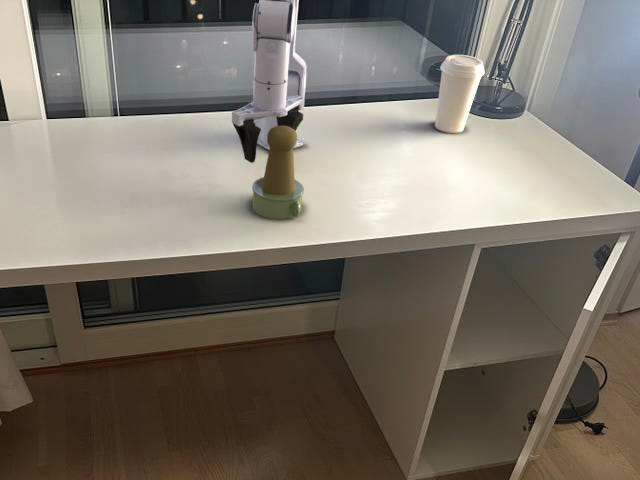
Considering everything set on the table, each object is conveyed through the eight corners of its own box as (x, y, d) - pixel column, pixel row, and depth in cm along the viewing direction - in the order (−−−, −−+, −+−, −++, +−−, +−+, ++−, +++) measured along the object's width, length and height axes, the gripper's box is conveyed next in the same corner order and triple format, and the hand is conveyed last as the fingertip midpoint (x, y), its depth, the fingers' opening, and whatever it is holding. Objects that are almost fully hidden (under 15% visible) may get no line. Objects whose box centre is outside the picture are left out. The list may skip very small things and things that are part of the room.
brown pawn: (292, 197, 125) (297, 137, 118) (259, 192, 126) (262, 133, 119) (297, 182, 130) (302, 123, 122) (265, 178, 130) (268, 119, 123)
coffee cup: (423, 119, 166) (436, 53, 157) (462, 119, 167) (477, 53, 158) (435, 135, 159) (450, 67, 149) (475, 135, 160) (493, 67, 150)
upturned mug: (241, 203, 131) (241, 183, 128) (280, 190, 135) (281, 171, 133) (276, 227, 125) (278, 207, 122) (316, 213, 129) (318, 193, 127)
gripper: (250, 94, 112) (247, 173, 121) (318, 78, 119) (311, 154, 128) (225, 81, 116) (223, 158, 125) (292, 66, 124) (286, 140, 132)
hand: (266, 155), depth 127 cm, fingers open, 7 cm apart
